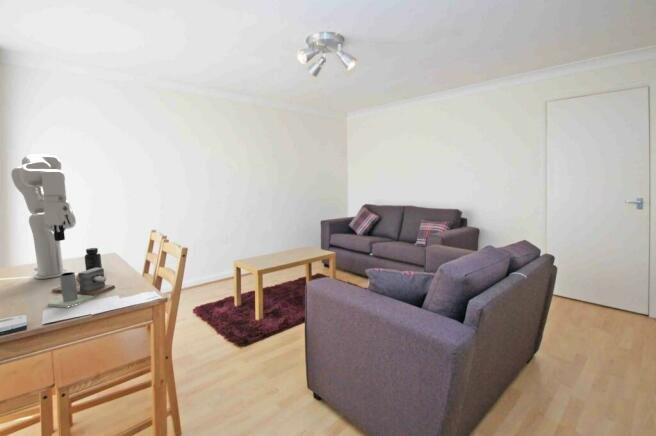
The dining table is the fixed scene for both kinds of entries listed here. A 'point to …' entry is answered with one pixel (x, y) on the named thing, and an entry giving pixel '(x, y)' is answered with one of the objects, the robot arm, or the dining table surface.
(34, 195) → the robot arm
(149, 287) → the dining table surface
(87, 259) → the supplement bottle
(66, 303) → the tile
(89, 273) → the shaft stand
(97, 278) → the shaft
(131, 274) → the dining table surface
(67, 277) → the grey open cylinder
